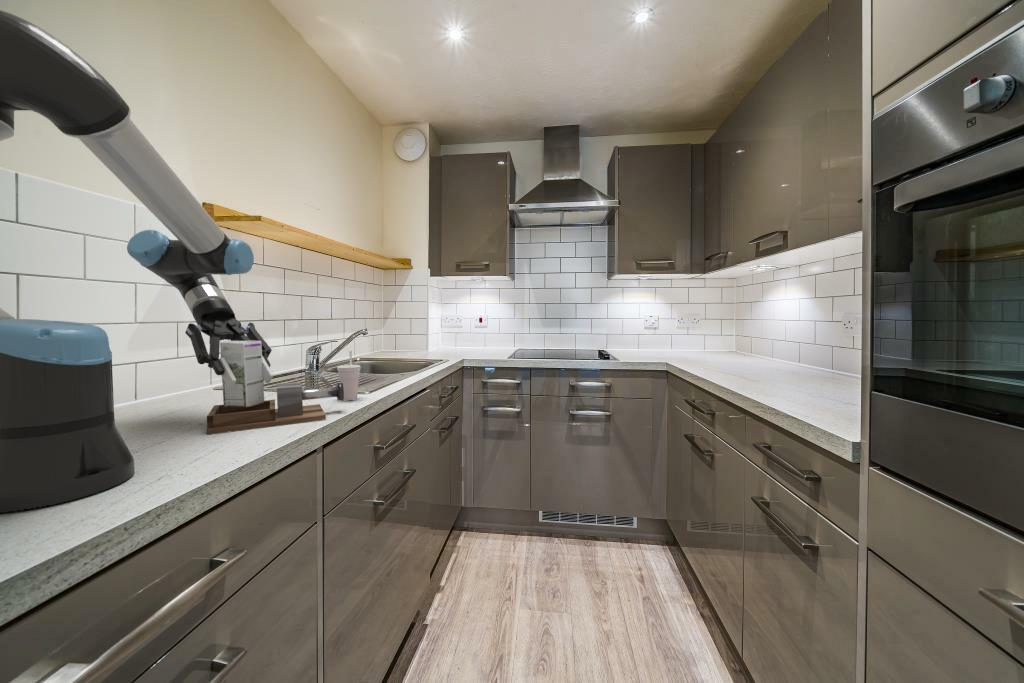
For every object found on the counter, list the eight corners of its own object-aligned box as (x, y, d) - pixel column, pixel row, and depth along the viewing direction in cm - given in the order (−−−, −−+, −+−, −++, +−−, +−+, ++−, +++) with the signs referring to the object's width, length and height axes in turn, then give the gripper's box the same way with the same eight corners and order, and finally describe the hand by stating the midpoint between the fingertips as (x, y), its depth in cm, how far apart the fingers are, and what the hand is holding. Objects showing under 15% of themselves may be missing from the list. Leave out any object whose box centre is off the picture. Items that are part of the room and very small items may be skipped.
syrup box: (265, 402, 92) (262, 339, 91) (245, 408, 86) (243, 341, 85) (242, 401, 93) (240, 339, 92) (221, 407, 87) (218, 341, 86)
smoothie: (357, 401, 111) (355, 352, 110) (334, 402, 111) (332, 352, 110) (365, 397, 117) (363, 350, 117) (343, 397, 117) (341, 350, 117)
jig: (325, 419, 92) (324, 386, 91) (207, 434, 81) (205, 397, 80) (319, 407, 104) (318, 378, 103) (215, 419, 92) (213, 386, 92)
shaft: (344, 401, 98) (343, 383, 98) (282, 408, 91) (281, 389, 91) (341, 398, 102) (341, 381, 102) (282, 404, 95) (281, 386, 95)
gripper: (249, 319, 105) (289, 385, 98) (152, 320, 87) (192, 401, 80) (260, 298, 102) (301, 365, 95) (162, 295, 84) (204, 376, 77)
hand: (251, 381), depth 88 cm, fingers closed on syrup box, 7 cm apart
